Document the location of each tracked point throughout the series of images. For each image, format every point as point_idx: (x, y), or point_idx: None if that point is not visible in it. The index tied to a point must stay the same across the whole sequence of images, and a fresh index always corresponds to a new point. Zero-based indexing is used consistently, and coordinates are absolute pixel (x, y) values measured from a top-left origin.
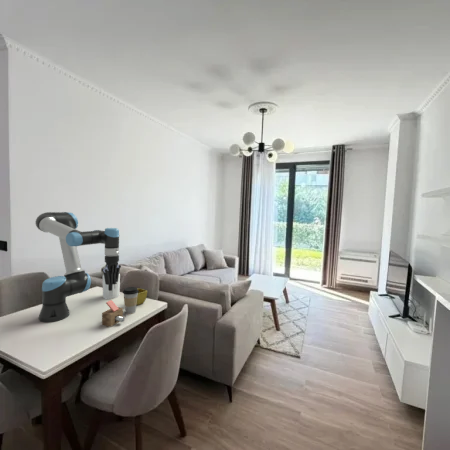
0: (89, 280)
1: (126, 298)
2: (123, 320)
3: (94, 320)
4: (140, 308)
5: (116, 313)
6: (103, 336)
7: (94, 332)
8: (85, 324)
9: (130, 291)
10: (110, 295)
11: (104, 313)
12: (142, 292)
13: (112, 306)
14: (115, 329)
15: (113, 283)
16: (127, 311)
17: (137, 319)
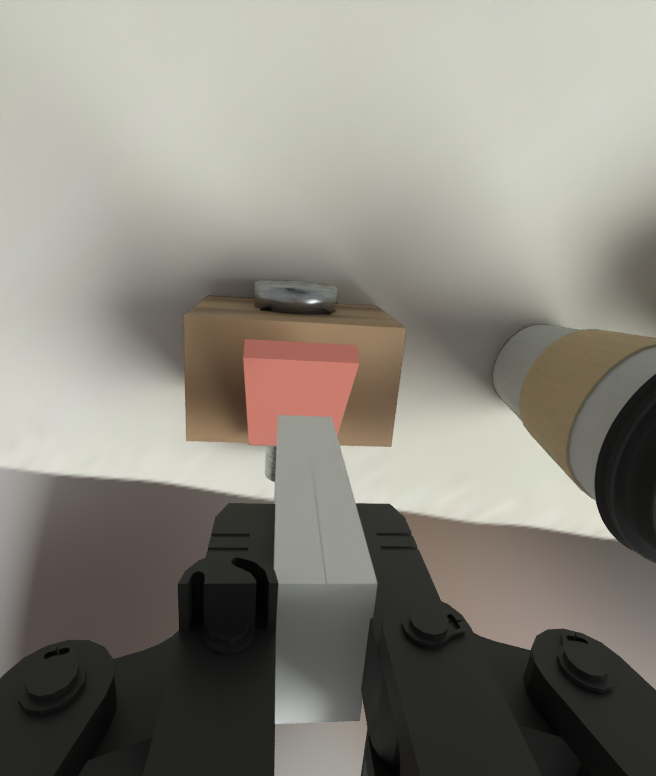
0: None
1: (569, 425)
2: None
3: (269, 142)
4: None
5: None
6: (44, 447)
7: (62, 331)
8: (156, 114)
9: (648, 533)
10: (276, 452)
11: (185, 351)
12: None
13: (278, 414)
14: (182, 457)
15: (364, 708)
16: (501, 371)
17: (398, 508)
